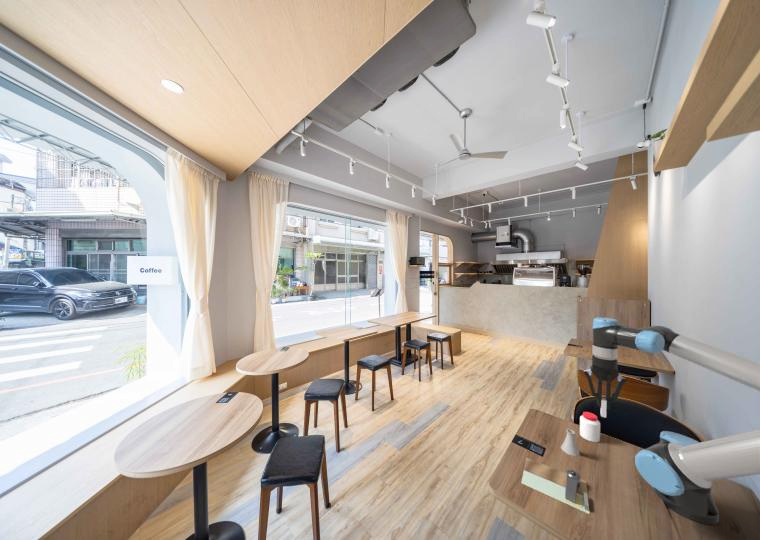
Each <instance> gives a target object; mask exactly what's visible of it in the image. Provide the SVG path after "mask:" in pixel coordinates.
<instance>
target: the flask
mask: <svg viewBox="0 0 760 540" xmlns="http://www.w3.org/2000/svg"><path fill="white" fill-rule="evenodd" d="M565 430H566V436H565V439H564V441H563V442H562V444H561V446H560V449H561V450H562V451H563V452H564V453H566V455H569V456H573V457H579V456H581V455H580V452H579V449H578V446H577V444H576V439H575V435H576V432H575V431H574V430H572V429H569V428H567V429H565Z"/></svg>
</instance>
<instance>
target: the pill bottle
mask: <svg viewBox="0 0 760 540" xmlns="http://www.w3.org/2000/svg"><path fill="white" fill-rule="evenodd" d="M579 435H580V437H582V439H585V440H586V441H589V442H592V443H599V442H600V441H601V422H600V420H598V416H597V415H596V414H594V413H592V412H589V411H583V412H582V415H580V416H579Z"/></svg>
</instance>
